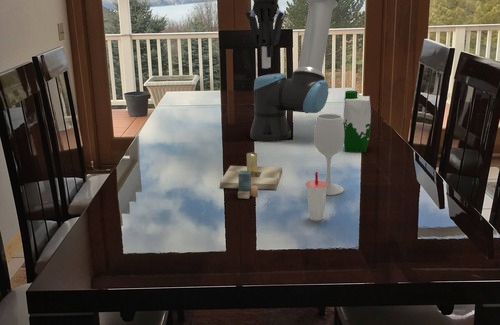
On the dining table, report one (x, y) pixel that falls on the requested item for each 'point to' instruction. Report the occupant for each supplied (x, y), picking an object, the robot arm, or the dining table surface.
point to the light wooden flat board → (250, 179)
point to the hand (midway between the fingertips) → (266, 67)
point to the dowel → (254, 191)
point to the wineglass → (329, 143)
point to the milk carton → (356, 122)
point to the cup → (316, 198)
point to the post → (252, 163)
